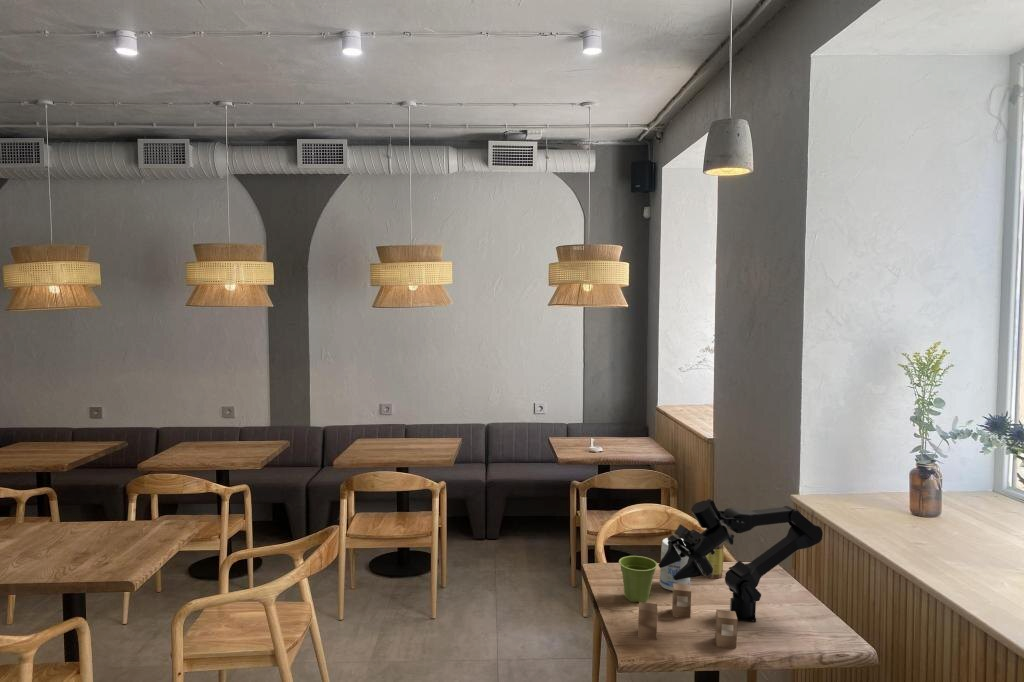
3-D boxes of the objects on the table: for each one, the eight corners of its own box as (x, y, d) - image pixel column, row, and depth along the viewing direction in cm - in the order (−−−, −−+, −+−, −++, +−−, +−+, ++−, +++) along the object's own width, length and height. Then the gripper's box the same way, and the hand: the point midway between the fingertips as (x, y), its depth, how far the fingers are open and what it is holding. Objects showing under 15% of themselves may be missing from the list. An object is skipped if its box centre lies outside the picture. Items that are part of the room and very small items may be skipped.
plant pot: (612, 601, 222) (613, 565, 222) (625, 587, 233) (626, 553, 232) (649, 609, 217) (651, 572, 216) (661, 595, 227) (662, 560, 227)
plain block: (656, 631, 203) (657, 603, 202) (656, 640, 198) (657, 611, 197) (638, 629, 204) (639, 602, 203) (637, 638, 199) (638, 609, 198)
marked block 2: (733, 639, 199) (735, 611, 199) (736, 648, 194) (737, 619, 193) (715, 637, 200) (716, 609, 199) (717, 646, 195) (718, 617, 194)
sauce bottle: (708, 570, 249) (710, 513, 247) (725, 575, 245) (728, 517, 243) (699, 576, 243) (702, 518, 242) (717, 581, 240) (719, 522, 238)
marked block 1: (689, 610, 217) (690, 584, 216) (690, 618, 212) (691, 591, 211) (672, 609, 218) (673, 583, 217) (672, 616, 212) (673, 590, 212)
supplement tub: (668, 593, 229) (669, 548, 228) (654, 582, 238) (656, 538, 237) (695, 591, 231) (697, 545, 230) (681, 579, 240) (682, 536, 239)
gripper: (680, 508, 216) (639, 539, 214) (712, 528, 198) (667, 562, 196) (697, 537, 219) (657, 568, 216) (731, 560, 200) (687, 594, 198)
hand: (666, 572), depth 206 cm, fingers open, 9 cm apart
